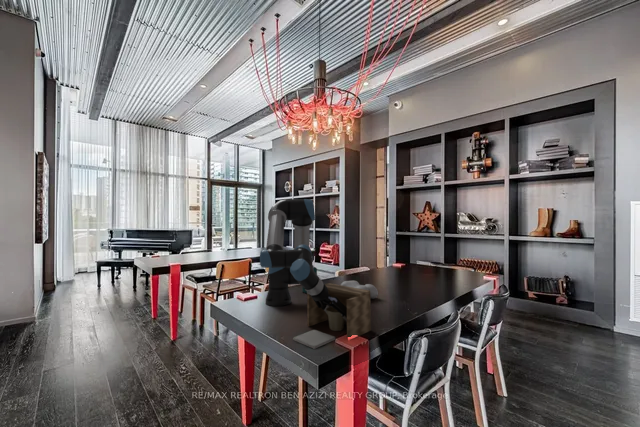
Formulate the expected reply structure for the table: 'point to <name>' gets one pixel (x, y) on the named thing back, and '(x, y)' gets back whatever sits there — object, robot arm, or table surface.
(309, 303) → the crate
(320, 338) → the tile
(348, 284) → the torso sculpture
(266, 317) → the table surface
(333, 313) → the flower pot
